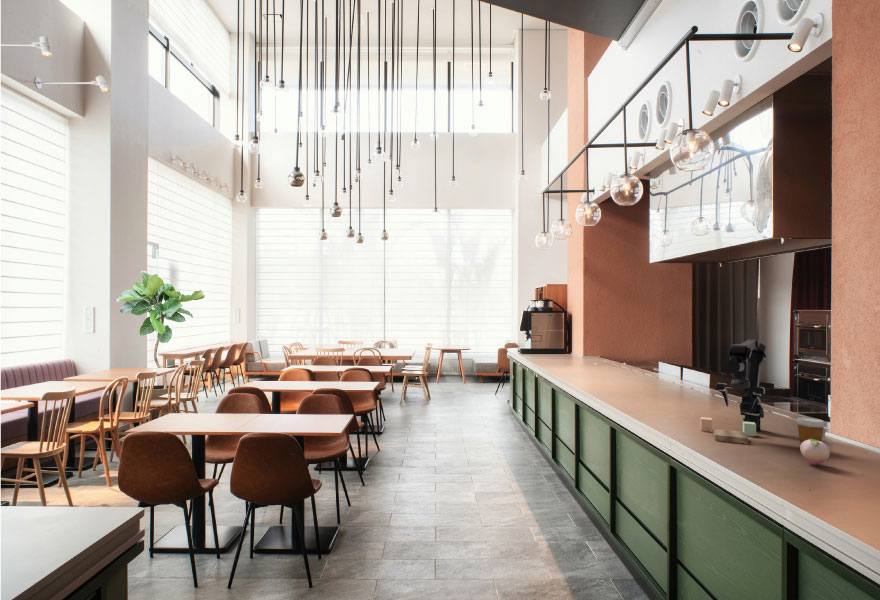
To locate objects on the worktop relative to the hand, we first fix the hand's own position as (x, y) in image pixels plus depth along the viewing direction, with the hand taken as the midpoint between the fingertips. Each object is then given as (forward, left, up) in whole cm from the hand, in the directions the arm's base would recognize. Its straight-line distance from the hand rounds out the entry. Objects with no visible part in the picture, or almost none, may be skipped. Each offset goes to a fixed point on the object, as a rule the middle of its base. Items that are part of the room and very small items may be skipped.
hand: (739, 407), depth 224 cm
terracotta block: (+13, -5, -12) cm, 18 cm away
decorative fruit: (-19, +37, -13) cm, 44 cm away
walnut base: (+5, +9, -12) cm, 16 cm away
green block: (-4, -4, -12) cm, 14 cm away
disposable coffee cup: (-23, +12, -13) cm, 29 cm away
